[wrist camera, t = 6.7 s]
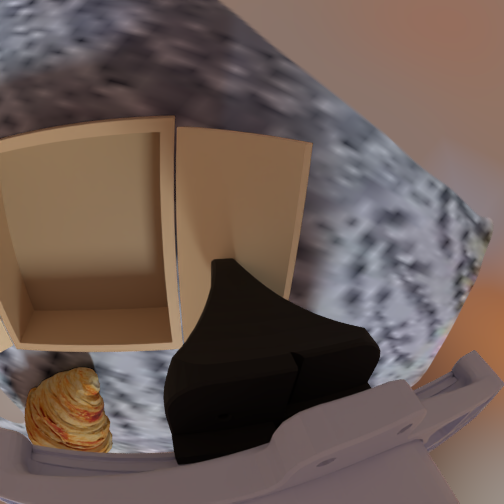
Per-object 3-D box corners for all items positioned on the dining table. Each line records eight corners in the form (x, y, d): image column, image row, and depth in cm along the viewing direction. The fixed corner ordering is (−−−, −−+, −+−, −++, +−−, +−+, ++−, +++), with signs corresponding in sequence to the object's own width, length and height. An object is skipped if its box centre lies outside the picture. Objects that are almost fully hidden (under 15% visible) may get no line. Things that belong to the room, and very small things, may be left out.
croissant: (69, 318, 22) (10, 356, 15) (154, 389, 23) (112, 450, 15) (43, 416, 28) (12, 447, 20) (100, 462, 28) (74, 499, 20)
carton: (179, 308, 20) (183, 348, 17) (32, 312, 17) (16, 348, 14) (174, 115, 14) (174, 117, 11) (-7, 140, 11) (-43, 153, 8)
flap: (184, 344, 17) (190, 340, 17) (264, 398, 14) (269, 392, 14) (177, 127, 11) (186, 126, 12) (305, 143, 8) (312, 143, 9)
